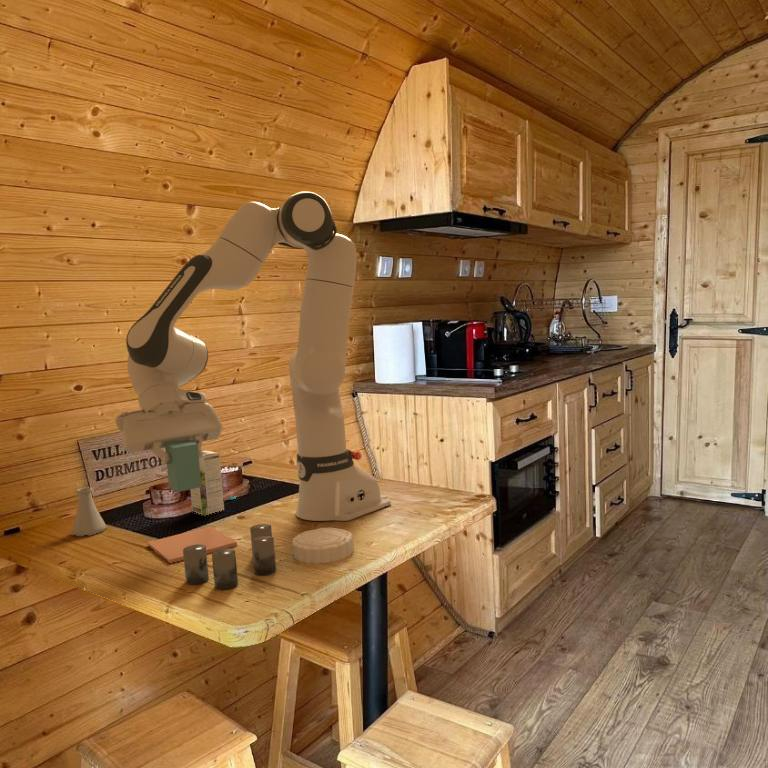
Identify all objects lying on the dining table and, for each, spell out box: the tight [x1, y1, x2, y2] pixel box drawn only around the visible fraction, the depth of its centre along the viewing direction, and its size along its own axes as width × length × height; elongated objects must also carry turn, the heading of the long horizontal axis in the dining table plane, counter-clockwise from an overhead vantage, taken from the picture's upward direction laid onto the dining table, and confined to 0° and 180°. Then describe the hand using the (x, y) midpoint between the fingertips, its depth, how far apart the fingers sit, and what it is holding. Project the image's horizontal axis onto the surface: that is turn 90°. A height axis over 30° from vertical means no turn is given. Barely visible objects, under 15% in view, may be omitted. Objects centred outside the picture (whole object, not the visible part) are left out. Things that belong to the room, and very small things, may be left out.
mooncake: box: [291, 526, 355, 565], centre depth 137 cm, size 12×12×4 cm
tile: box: [146, 526, 238, 564], centre depth 145 cm, size 14×14×1 cm
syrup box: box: [190, 450, 225, 517], centre depth 168 cm, size 6×6×14 cm
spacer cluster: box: [183, 523, 277, 591], centre depth 129 cm, size 18×12×6 cm, turn 126°
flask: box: [70, 487, 108, 537], centre depth 159 cm, size 7×7×10 cm
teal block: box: [165, 441, 201, 493], centre depth 143 cm, size 5×5×9 cm
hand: (183, 459), depth 143 cm, fingers closed on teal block, 5 cm apart
